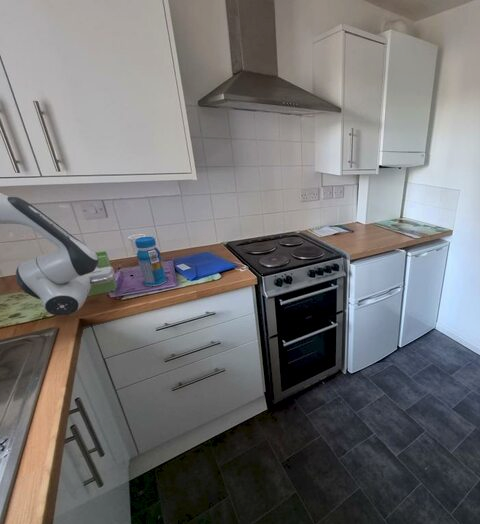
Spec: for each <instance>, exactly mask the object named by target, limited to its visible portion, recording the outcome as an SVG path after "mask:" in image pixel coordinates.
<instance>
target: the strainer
mask: <svg viewBox="0 0 480 524" xmlns="http://www.w3.org/2000/svg"><path fill="white" fill-rule="evenodd" d="M141 237H147V236H146V234H144V233H138V234H133V235H129V236H127V239H128V241H130V244H131V247H132V251H131V253H132V255H134V256H137V252H138V250H139V249H138V248H137V246H136V243H135V240H136V239H138V238H141Z"/></svg>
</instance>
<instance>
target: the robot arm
mask: <svg viewBox="0 0 480 524" xmlns="http://www.w3.org/2000/svg"><path fill="white" fill-rule="evenodd" d="M7 224H11V225H22V226H24V227H28V228H30V229H32V230H33V231H35V232H36V233H38V234H39V235H40V236H42V237H43V238H45V239H46V240H47V241H49V242H50V243H51V244H53V245H54V246H55V247H56V249H53V250H51V251H49V252H47V253H44V254H42V255H39V256H36V257H34V258H32V259H29V260H26V261H25V262H22V263H20V264H19V265H18V266H17V267H16V270H15V282H16V284H17V285H18V287H20V289H21V290H23V292H25V293H26V294H27V295H29V296H30V297H33V298H36V299H38V300H40V301H41V303H42V307H43V308H44V311H45V312H47V313H48V314H49V315H52V316H57V317H64V316H69V315H72V314H74V313H76V312H78V311H79V310H80V309H81V308H82V307H83V306H84V304H85V302H86V300H87V298H88V296H87V295H88V293H89V291H90V289H91V286H92V285H95V284H101V283H106V282H109V281H111V280H112V279H113V278H115V276H116V274H115V273H116V272H115V270H114V267H112V266H111V267H103V268H98V267H97V264H98V260H99V259H98V256H97V255H96V253H95V252H96V251H95V250H94V249H92V248H91V247H90V246H88V245H87V244H86V243H84V242H83V241H82V240H80V239H78V238H76V237H75V236H74V235H72V234H71V233H70V232H68V231H67V230H66V229H64V228H63V227H62V226H61V225H59V224H58V223H57V222H55V221H54V220H52V219H51V218H50V217H49V216H47V215H46V214H45V213H44V212H42V211H40V209H38V208H37V207H35V206H33V204H31V203H30V202H28V201H26V200H24V199H22V198H21V197H18V196H9V195H6V194H3V193H1V192H0V225H7Z"/></svg>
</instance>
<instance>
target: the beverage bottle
mask: <svg viewBox="0 0 480 524" xmlns="http://www.w3.org/2000/svg"><path fill="white" fill-rule="evenodd" d="M137 238H138V239H136V240H134V241H135V243H136V246H137V248H138V249H139V250H138V252H137V255H136V258H137V259H138V260H137V263H138V265H139V266H140V267H139V268H140V271H141V274H142V278H143V284H144V286H146V287H150V288H152V286H153V287H158V286H161V285H164V284H165V283H167V277H166V272H165V269H164V268H165V267H164V265H163V257H162V256H161V251H160V250H159V248H157V242H156V239H155V237H154V236H146V237H141V238H139V237H137Z"/></svg>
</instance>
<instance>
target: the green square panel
mask: <svg viewBox="0 0 480 524" xmlns="http://www.w3.org/2000/svg"><path fill="white" fill-rule="evenodd" d="M94 252H95V253H96V255H97V256H98V259H99V260H98V264H97V267H98V268H103V267H112V265H111V261H110V259H109V256H108V253H107V251H106V250H102V251H94ZM116 288H118V284H117V281H116V278H115V277H114V278H113V279H112V280H111V281H109V282H106V283H101V284H95V285H92V286H91V289H90V291H89V293H88V295H87V297H91V296H97V295H101V294H108V293H112V292H111V291H113V292H117V289H116Z"/></svg>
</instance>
